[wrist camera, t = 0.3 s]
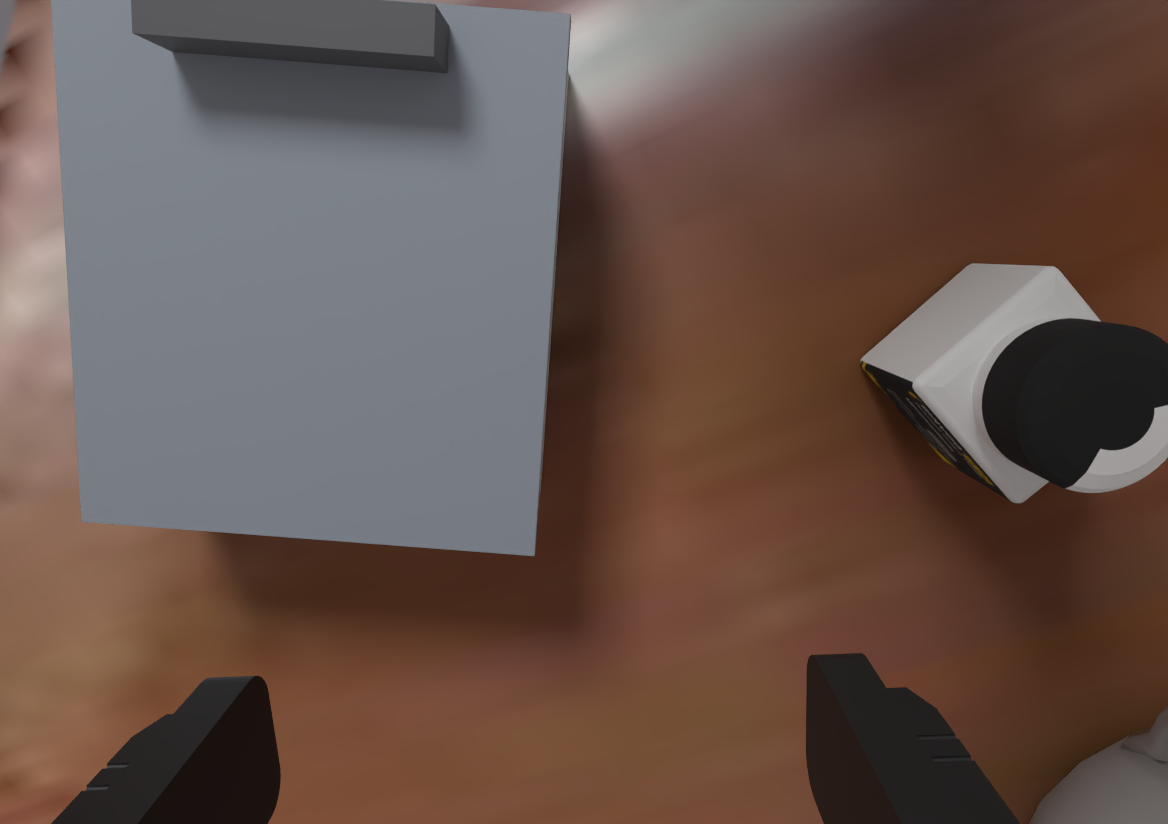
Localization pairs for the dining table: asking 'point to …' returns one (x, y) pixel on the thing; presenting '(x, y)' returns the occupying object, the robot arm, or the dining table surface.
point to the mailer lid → (311, 264)
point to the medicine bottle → (1027, 383)
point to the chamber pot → (1115, 783)
